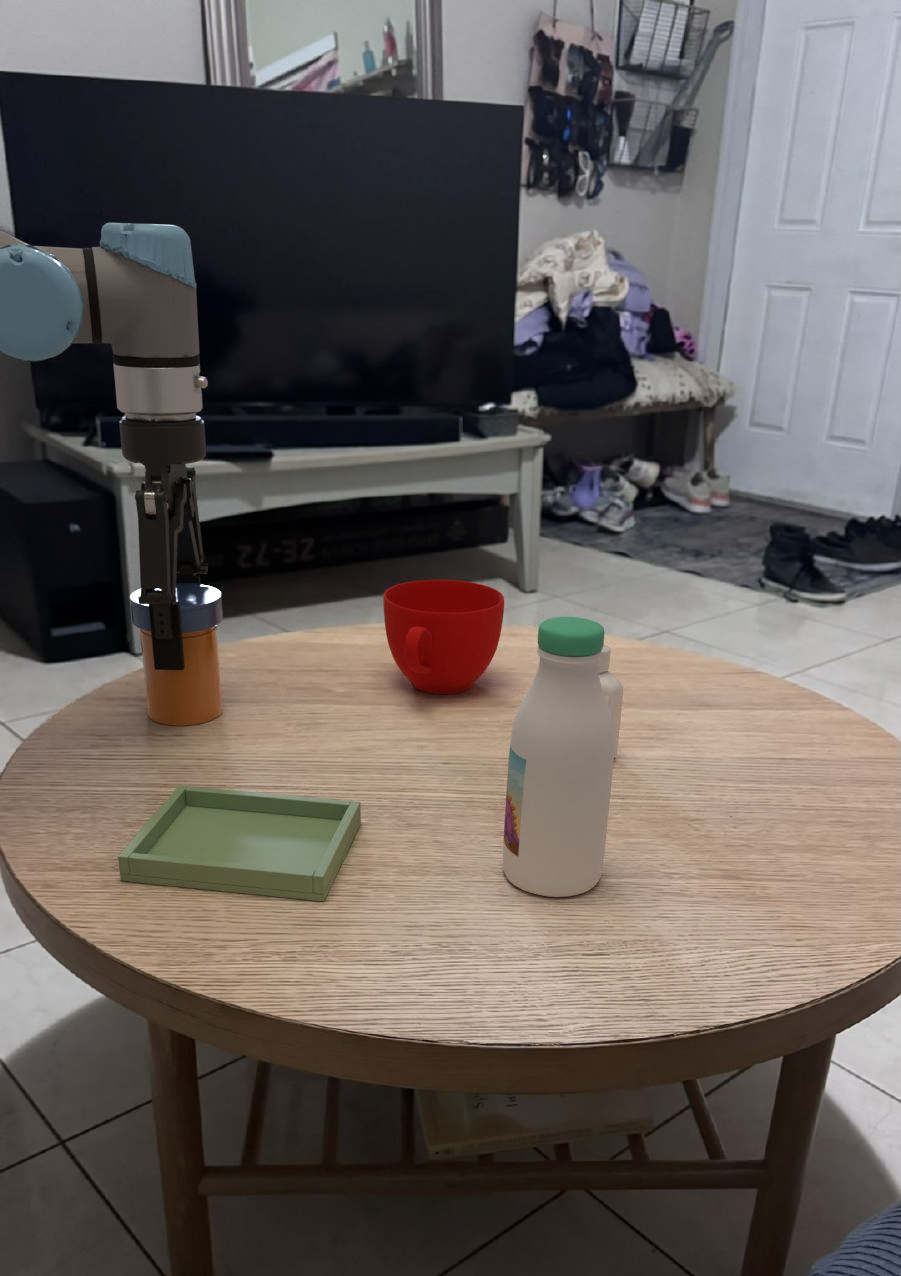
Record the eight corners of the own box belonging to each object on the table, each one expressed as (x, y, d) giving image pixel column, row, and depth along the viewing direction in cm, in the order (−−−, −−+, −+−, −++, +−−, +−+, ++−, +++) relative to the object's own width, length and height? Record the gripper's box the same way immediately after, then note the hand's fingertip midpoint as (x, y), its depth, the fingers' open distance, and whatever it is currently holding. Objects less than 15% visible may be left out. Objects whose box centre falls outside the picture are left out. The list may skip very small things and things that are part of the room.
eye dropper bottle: (578, 767, 105) (589, 644, 99) (555, 744, 109) (564, 626, 104) (621, 763, 106) (634, 641, 101) (596, 740, 111) (607, 623, 105)
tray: (120, 880, 84) (117, 856, 83) (180, 807, 95) (178, 784, 94) (323, 901, 82) (323, 876, 81) (360, 824, 93) (360, 801, 92)
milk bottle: (617, 867, 88) (644, 620, 79) (575, 910, 82) (600, 649, 73) (529, 841, 91) (546, 602, 82) (483, 881, 85) (496, 628, 76)
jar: (136, 722, 111) (125, 613, 106) (164, 696, 118) (154, 592, 113) (208, 728, 110) (200, 618, 105) (231, 702, 117) (225, 597, 112)
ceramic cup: (350, 707, 117) (349, 614, 112) (407, 658, 131) (408, 574, 127) (469, 725, 113) (472, 630, 109) (513, 673, 128) (518, 587, 123)
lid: (144, 638, 105) (141, 612, 103) (121, 612, 111) (119, 588, 110) (234, 627, 108) (233, 601, 107) (207, 603, 115) (206, 579, 114)
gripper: (176, 433, 92) (195, 692, 102) (224, 401, 111) (237, 622, 121) (84, 430, 92) (113, 689, 102) (149, 399, 111) (167, 620, 121)
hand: (180, 652), depth 111 cm, fingers closed on lid, 9 cm apart
